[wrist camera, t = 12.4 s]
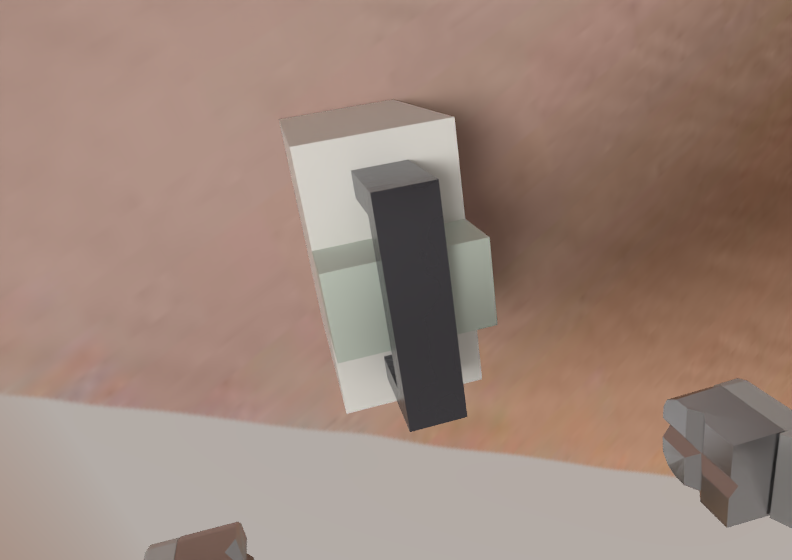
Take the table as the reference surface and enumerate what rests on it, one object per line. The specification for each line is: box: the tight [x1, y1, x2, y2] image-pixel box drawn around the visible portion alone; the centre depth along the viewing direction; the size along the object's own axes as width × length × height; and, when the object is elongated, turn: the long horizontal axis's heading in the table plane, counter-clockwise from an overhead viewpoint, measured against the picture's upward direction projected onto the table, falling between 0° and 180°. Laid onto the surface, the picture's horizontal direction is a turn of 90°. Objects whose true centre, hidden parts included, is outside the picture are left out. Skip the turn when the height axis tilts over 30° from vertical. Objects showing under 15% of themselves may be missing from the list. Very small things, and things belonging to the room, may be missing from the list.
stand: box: [279, 100, 497, 414], centre depth 31 cm, size 13×7×15 cm, turn 8°
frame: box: [351, 160, 467, 432], centre depth 24 cm, size 10×2×4 cm, turn 8°
